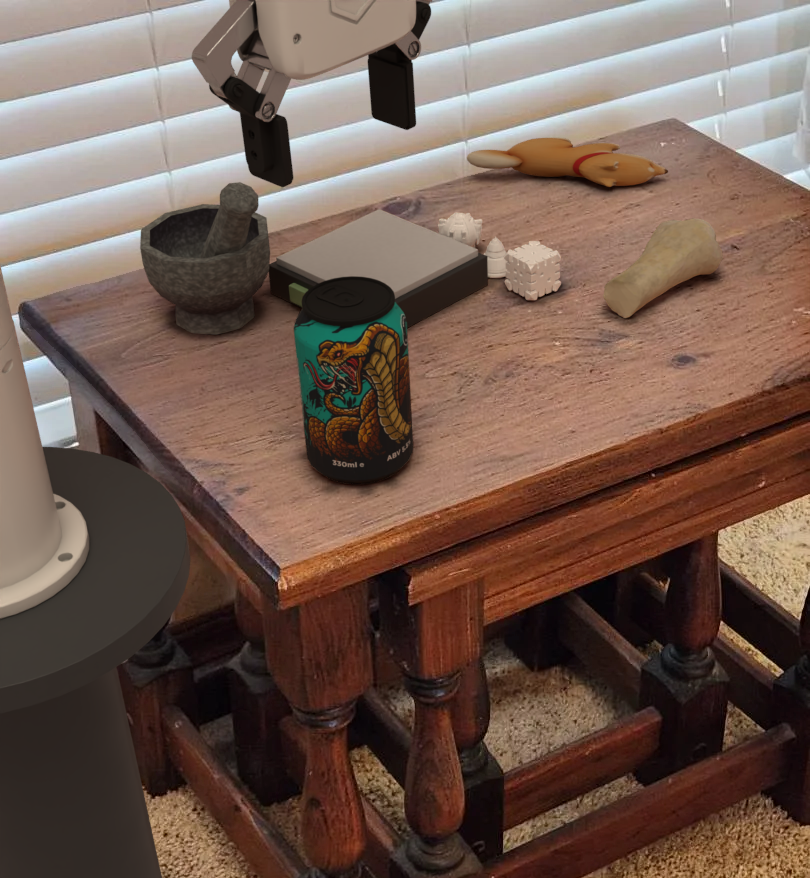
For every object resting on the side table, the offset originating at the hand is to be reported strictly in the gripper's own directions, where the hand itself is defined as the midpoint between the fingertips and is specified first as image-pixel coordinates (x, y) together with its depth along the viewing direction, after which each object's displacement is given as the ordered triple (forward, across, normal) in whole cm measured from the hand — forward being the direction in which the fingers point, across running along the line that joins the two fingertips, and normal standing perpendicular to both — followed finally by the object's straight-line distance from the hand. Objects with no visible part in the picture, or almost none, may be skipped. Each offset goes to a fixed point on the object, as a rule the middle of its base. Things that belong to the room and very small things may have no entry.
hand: (334, 150), depth 90 cm
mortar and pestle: (+21, +6, +22) cm, 31 cm away
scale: (+21, +16, +16) cm, 31 cm away
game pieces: (+22, +25, +11) cm, 34 cm away
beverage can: (+22, -1, 0) cm, 22 cm away
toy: (+20, +42, +19) cm, 51 cm away
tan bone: (+22, +30, -1) cm, 37 cm away
